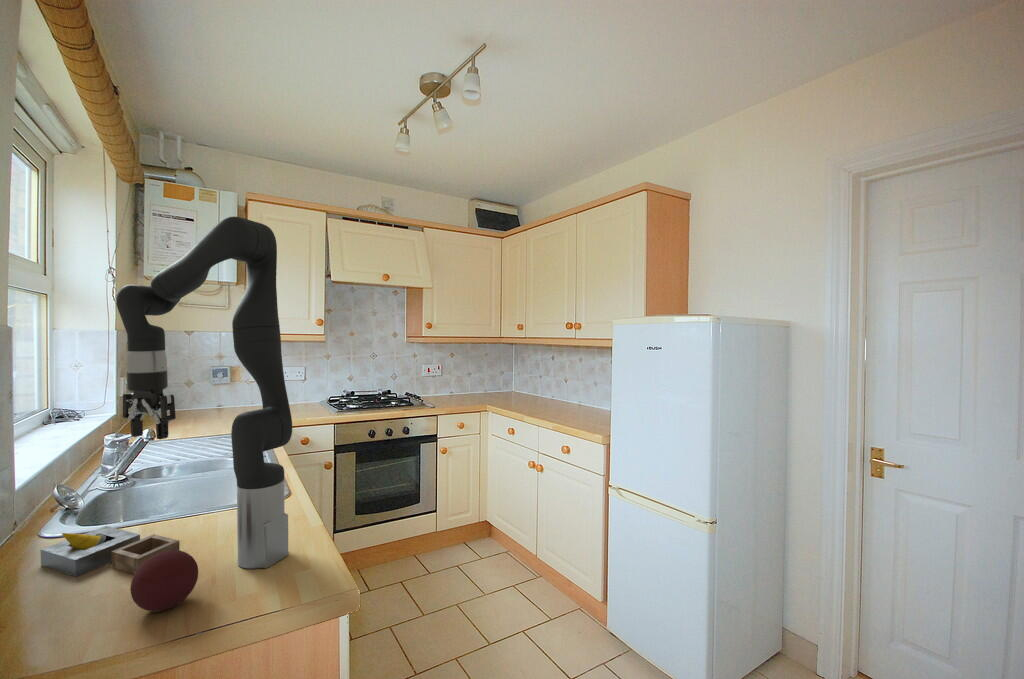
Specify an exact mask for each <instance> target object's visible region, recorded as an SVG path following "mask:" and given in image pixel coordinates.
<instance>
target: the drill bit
mask: <svg viewBox="0 0 1024 679" xmlns="http://www.w3.org/2000/svg"><path fill="white" fill-rule="evenodd" d="M83 534H84V533H82V534H81V533H78V534H77V533H68V532H62V533H61V535H62V536H63V537H64V538H65V540H67V541H68V542H69V543H70V544H71V545H72V546H73V547H74V548H77V549H81V550H87V549H89V548H92V547H94V546H97V545H100V544H102V543H104V541H105V539H106V536H104V535H102V534H99V535H97V536H96V535H91V536H90V535H83Z"/></svg>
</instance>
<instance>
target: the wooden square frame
mask: <svg viewBox="0 0 1024 679" xmlns="http://www.w3.org/2000/svg"><path fill="white" fill-rule="evenodd" d="M168 550H180V551H181V549H180V540H178V539H174V538H171V537H168V536H162V535H160V534H155V533H154V534H151V535H149V536H146V537H144V538H140V540H139V541H136V542H134V543H131V544H129V545H126V546H124V547H121V548H119V549H116V550H114V551H111V554H112V562H111V568H112V569H115V570H118V571H123V572H125V573H129V574H132V575H134V574H135V573H136V571H137V570H138V568H139V567H140V566H141V565H142V564H143V563H144V562H145V561H146V560H148V559H149V558H150V557H152V556H154V555H156V554H158V553H160V552H164V551H168Z"/></svg>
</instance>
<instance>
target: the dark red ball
mask: <svg viewBox="0 0 1024 679" xmlns="http://www.w3.org/2000/svg"><path fill="white" fill-rule="evenodd" d="M198 578H199V567H198V563H197V561H196V560H195V558H194V556H192V555H190V553H188V552H186V551H183V550H181V549H180V550H168V551H164V552H160V553H158V554H156V555H154V556H152V557H150V558H149V559H148V560H146V561H145V562H144V563H143V564H142V565H141V566H140V567H139V568H138V570H137V571H136V573H135V574H133V576H132V580H131V583H130V588H129V590H130V596H131V599H132V601H133V602H134V604H136V606H137V607H138V608H140V609H142V610H144V611H149V612H162V611H165V610H168V609H172V608H174V607H176V606H177V605H179V604H181V603H182V602H183V601H184V600H185V599H187V597H188V596H189V595H190V594H191V593H192V592H193V590H194V588H195V587H196V584H197V582H198Z"/></svg>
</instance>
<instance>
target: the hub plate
mask: <svg viewBox="0 0 1024 679" xmlns="http://www.w3.org/2000/svg"><path fill="white" fill-rule="evenodd" d="M82 534H83V535H90V536H91V535H96V536H97V535H99V534H102V535H104V536H106V539H105V541H104V543H102V544H100V545H97V546H94V547H92V548H89V549H87V550H81V549H77V548H74V547H73V546H72V545H71V544H70V543H69V542H68V541H67V539H65V540H63V541H61V542H57V543H55V544H52V545H49V546H46V547H44V548H41V549H40V566H42V567H45V568H48V569H51V570H55V571H57V572H59V573H63V574H66V575H68V576H69V575H70V576H73V577H75V578H76V577H79V576H81V575H83V574H86V573H88V572H90V571H93V570H95V569H98V568H100V567H103V566H105V565H107V564H109V563H112V554H111V551H114V550H116V549H119V548H121V547H124V546H126V545H129V544H131V543H134V542H136V541H139V540H141V534H140V533H135V532H132V531H128V530H124V529H121V528H116V527H112V526H108V525H105V526H103V527H100V528H97V529H94V530H91V531H88V532H86V533H82Z"/></svg>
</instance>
